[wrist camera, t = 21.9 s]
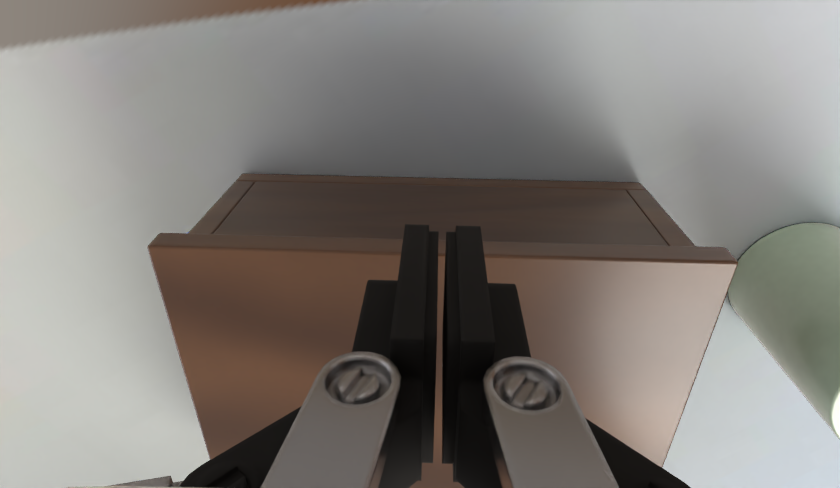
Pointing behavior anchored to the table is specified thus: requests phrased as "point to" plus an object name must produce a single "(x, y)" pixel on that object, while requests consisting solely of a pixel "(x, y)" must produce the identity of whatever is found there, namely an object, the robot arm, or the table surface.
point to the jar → (796, 308)
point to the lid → (438, 324)
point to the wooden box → (442, 209)
